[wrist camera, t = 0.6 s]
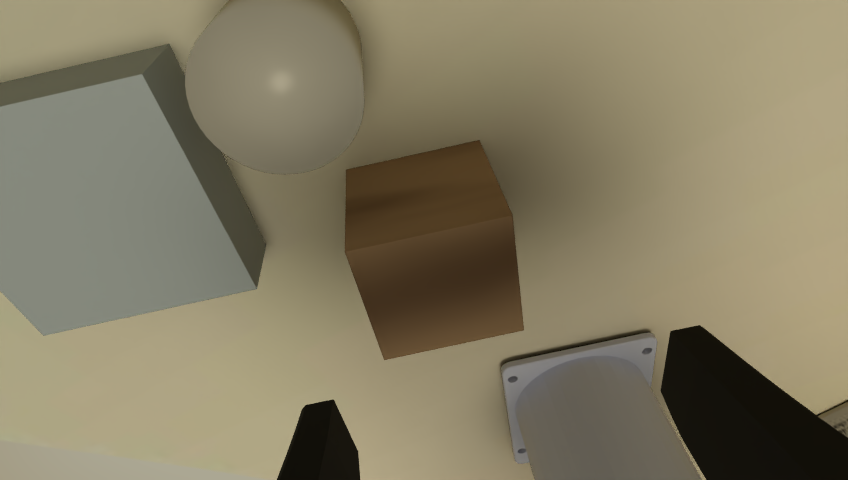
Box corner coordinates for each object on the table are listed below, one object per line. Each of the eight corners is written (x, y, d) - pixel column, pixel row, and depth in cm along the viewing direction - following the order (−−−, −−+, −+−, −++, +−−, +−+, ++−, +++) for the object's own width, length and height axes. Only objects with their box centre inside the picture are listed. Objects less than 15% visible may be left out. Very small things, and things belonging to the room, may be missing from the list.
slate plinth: (267, 239, 21) (256, 288, 19) (77, 280, 21) (43, 335, 19) (172, 40, 16) (142, 74, 14) (-74, 97, 16) (-146, 140, 14)
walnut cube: (492, 243, 22) (523, 330, 18) (378, 268, 22) (384, 360, 18) (478, 139, 19) (512, 215, 15) (346, 168, 19) (344, 252, 15)
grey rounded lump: (376, 100, 18) (381, 155, 14) (251, 129, 18) (229, 189, 15) (339, -42, 15) (336, -14, 12) (192, -8, 15) (150, 29, 12)
